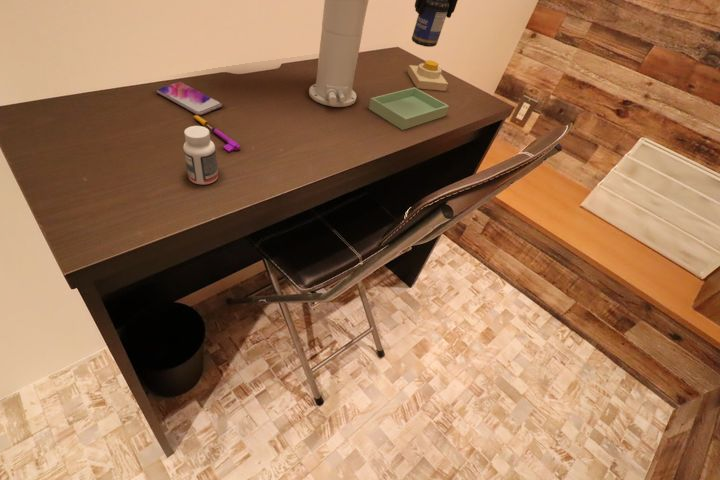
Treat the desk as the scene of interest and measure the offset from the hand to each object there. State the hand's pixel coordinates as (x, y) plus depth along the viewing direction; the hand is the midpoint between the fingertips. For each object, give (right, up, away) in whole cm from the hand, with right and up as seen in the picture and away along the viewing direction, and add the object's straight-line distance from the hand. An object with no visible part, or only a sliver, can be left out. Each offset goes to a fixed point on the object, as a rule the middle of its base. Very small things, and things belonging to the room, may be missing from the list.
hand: (432, 13), depth 82 cm
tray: (-2, -17, +13) cm, 22 cm away
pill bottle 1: (-47, -41, -15) cm, 64 cm away
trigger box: (+7, 0, +30) cm, 31 cm away
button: (+8, +2, +27) cm, 28 cm away
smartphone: (-56, -18, +3) cm, 59 cm away
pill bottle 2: (-1, -4, +5) cm, 6 cm away
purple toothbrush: (-48, -30, -5) cm, 57 cm away
